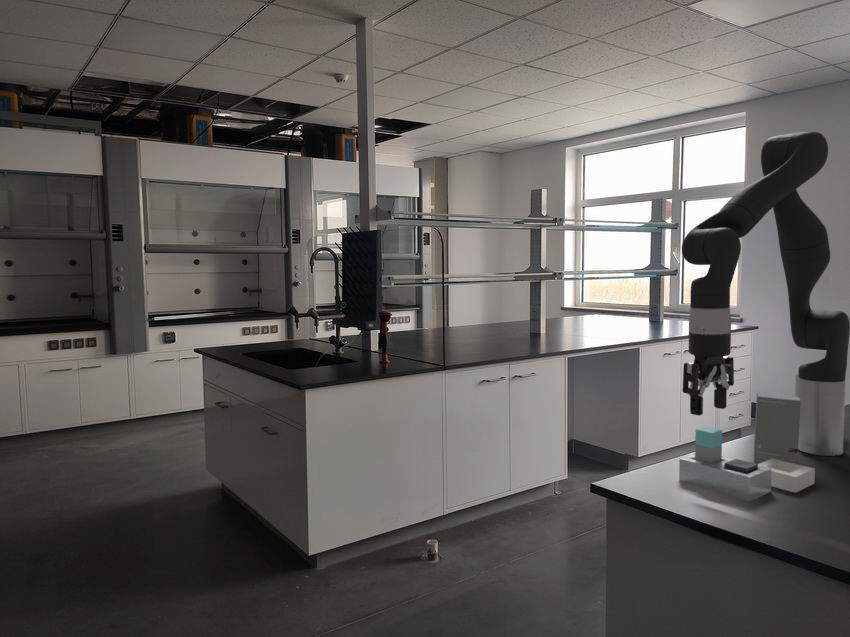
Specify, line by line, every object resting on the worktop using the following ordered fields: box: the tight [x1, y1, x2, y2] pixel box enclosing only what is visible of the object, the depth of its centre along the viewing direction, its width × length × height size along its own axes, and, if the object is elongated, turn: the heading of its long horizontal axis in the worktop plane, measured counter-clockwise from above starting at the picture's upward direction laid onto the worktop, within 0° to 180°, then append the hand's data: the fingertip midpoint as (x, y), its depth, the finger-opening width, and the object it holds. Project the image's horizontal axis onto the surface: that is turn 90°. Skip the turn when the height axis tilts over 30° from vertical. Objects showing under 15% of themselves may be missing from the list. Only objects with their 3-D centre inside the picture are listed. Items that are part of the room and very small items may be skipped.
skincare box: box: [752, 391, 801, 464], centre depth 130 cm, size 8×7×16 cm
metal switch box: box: [678, 453, 772, 502], centre depth 117 cm, size 8×14×6 cm, turn 35°
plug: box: [694, 426, 723, 465], centre depth 119 cm, size 4×4×11 cm
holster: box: [758, 459, 816, 493], centre depth 118 cm, size 8×8×4 cm
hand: (708, 411), depth 119 cm, fingers open, 8 cm apart
